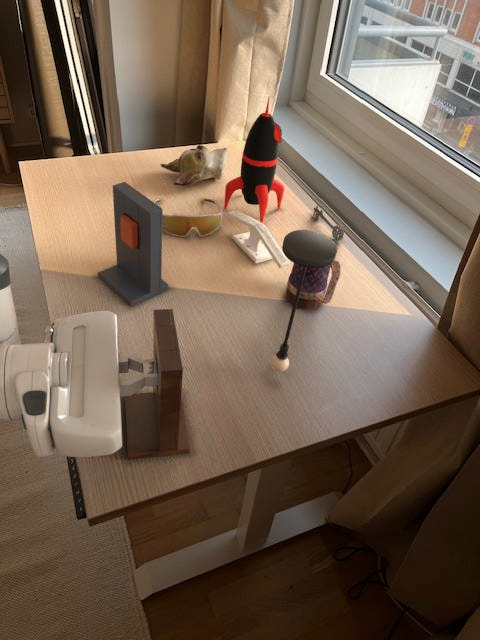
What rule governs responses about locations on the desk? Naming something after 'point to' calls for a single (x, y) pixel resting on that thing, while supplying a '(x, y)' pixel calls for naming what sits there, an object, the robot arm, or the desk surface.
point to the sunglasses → (191, 222)
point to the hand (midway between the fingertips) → (157, 372)
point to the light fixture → (303, 273)
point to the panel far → (136, 248)
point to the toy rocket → (259, 165)
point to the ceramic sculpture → (198, 165)
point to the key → (334, 232)
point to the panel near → (159, 399)
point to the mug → (313, 285)
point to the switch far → (129, 231)
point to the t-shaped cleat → (258, 241)
